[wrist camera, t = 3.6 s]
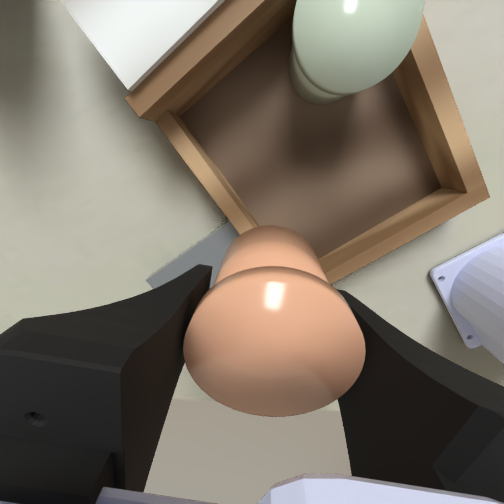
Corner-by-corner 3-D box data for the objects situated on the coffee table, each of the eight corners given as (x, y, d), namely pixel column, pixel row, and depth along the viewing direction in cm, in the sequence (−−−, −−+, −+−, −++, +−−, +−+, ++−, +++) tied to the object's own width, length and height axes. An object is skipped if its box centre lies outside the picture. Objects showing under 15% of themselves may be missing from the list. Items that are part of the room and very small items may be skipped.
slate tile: (293, 300, 22) (294, 305, 21) (214, 344, 24) (212, 350, 23) (232, 218, 19) (231, 220, 19) (149, 275, 22) (145, 280, 21)
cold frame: (455, 189, 18) (529, 205, 13) (289, 285, 21) (297, 326, 16) (269, -262, 11) (274, -601, 6) (69, -14, 15) (-32, -101, 10)
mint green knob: (382, 74, 15) (443, 34, 10) (310, 127, 16) (331, 117, 11) (343, -15, 14) (391, -114, 8) (267, 51, 15) (269, -1, 10)
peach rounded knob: (342, 287, 13) (392, 384, 8) (252, 328, 14) (245, 433, 9) (291, 196, 11) (313, 246, 6) (194, 254, 12) (145, 333, 7)
